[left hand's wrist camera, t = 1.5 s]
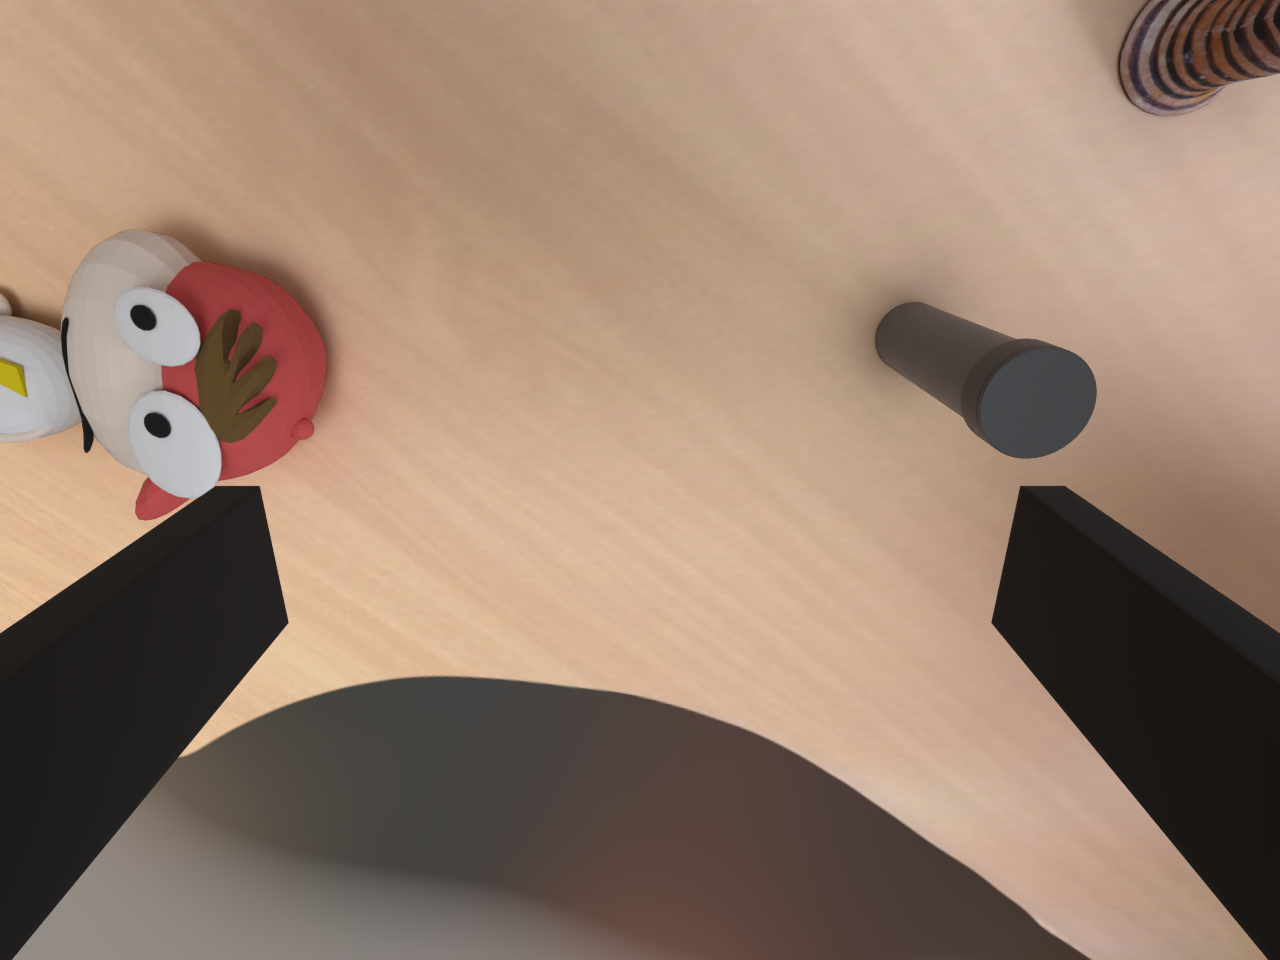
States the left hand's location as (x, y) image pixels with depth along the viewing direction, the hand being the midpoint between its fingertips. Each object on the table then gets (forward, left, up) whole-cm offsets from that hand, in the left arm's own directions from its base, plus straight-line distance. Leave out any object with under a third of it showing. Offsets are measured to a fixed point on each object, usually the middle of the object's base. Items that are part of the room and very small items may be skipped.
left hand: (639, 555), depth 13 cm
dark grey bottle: (+3, +18, -36) cm, 40 cm away
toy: (+4, -34, -36) cm, 50 cm away
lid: (+3, +18, -20) cm, 27 cm away
